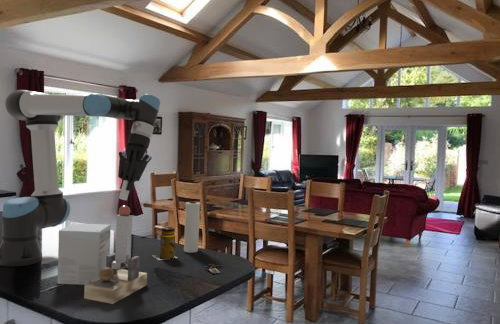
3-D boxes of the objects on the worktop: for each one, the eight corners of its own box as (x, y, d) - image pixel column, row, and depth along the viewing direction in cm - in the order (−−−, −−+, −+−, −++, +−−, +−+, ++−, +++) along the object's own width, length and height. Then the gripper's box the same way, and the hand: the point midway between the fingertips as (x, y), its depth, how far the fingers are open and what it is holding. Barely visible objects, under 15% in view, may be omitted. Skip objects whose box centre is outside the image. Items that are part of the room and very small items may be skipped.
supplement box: (110, 273, 150) (111, 224, 150) (98, 285, 137) (99, 231, 137) (72, 271, 150) (73, 222, 149) (56, 284, 137) (57, 230, 136)
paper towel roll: (186, 253, 181) (188, 203, 180) (181, 250, 187) (183, 201, 186) (202, 252, 185) (204, 203, 184) (197, 248, 190) (199, 201, 189)
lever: (117, 263, 137) (119, 204, 137) (134, 266, 135) (136, 205, 135) (107, 268, 132) (109, 206, 132) (124, 270, 130) (126, 207, 130)
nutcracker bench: (120, 280, 143) (121, 249, 142) (146, 285, 140) (147, 253, 139) (84, 298, 126) (85, 263, 125) (112, 303, 123) (114, 267, 122)
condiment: (178, 258, 174) (179, 229, 173) (158, 260, 169) (159, 230, 168) (171, 254, 180) (172, 225, 179) (151, 256, 175) (152, 227, 175)
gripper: (119, 130, 153) (101, 194, 147) (149, 133, 148) (131, 199, 142) (131, 138, 160) (114, 199, 154) (161, 141, 155) (144, 204, 149)
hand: (122, 199), depth 148 cm, fingers closed
